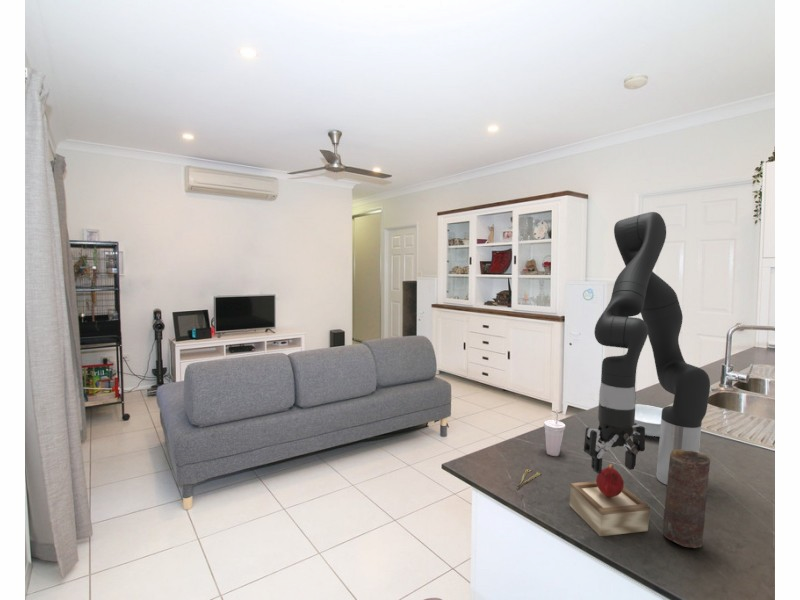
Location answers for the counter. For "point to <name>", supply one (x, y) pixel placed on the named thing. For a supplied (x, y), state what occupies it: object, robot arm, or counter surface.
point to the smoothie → (554, 435)
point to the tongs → (528, 479)
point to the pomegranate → (610, 482)
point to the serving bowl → (649, 419)
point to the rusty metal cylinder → (686, 497)
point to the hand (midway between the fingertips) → (613, 470)
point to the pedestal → (609, 510)
